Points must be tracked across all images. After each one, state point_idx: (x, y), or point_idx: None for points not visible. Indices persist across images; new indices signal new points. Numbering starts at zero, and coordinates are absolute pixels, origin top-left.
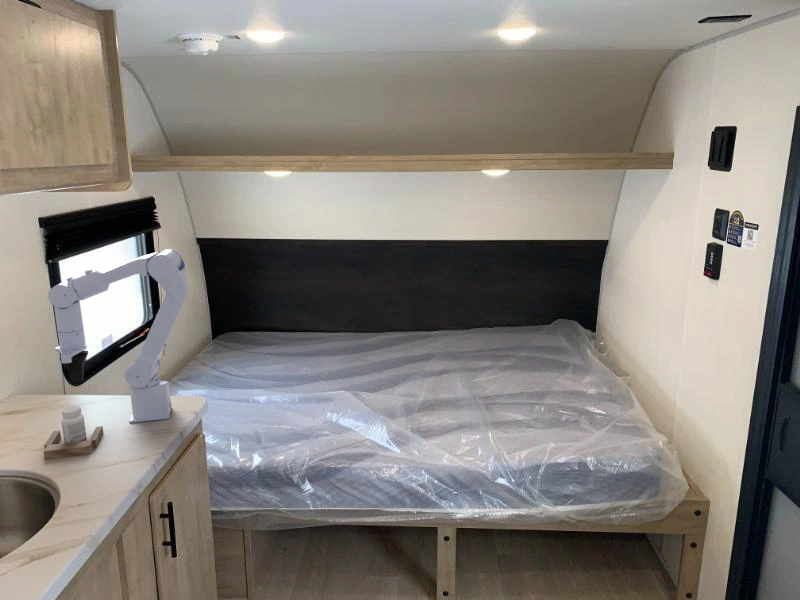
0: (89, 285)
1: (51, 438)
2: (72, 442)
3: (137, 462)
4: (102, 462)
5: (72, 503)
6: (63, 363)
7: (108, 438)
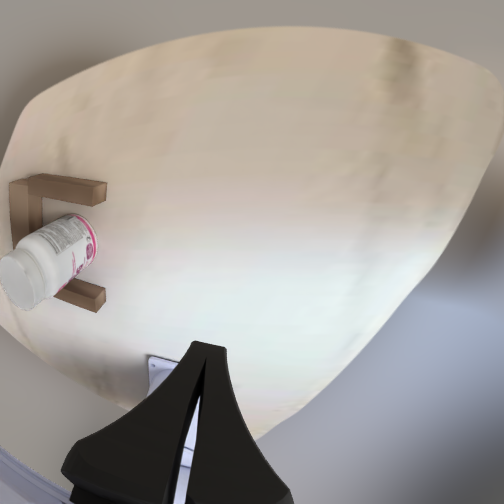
0: None
1: (53, 189)
2: None
3: (14, 325)
4: None
5: None
6: (95, 434)
7: None
